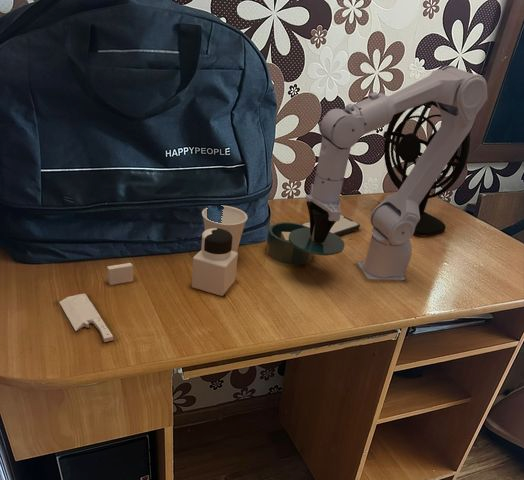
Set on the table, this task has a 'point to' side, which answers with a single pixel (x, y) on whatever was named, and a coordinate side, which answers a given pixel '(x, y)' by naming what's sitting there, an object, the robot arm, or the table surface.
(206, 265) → the medicine bottle
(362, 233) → the table surface
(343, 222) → the phone case
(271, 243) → the canister
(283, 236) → the block
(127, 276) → the eraser
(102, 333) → the butcher knife
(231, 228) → the cup
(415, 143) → the desk fan
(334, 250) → the lid
